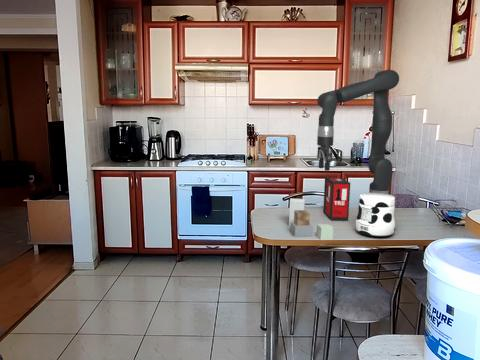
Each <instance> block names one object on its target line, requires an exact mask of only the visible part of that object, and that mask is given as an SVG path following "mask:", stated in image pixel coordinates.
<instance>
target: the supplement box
mask: <svg viewBox="0 0 480 360" xmlns="http://www.w3.org/2000/svg"><path fill="white" fill-rule="evenodd" d="M305 207H306V199H305V198H290V200H289V212H288V213H289V215H288V227H291V222H294V210H306V208H305Z"/></svg>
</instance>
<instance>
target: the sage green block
mask: <svg viewBox="0 0 480 360" xmlns="http://www.w3.org/2000/svg"><path fill="white" fill-rule="evenodd" d="M316 237H317V238H318V239H319V240H320V241H326V240H331V241H332V240H333V239H334V227H333V226H332V225H331V224H328V223H322V224H319V223H318V224H317V225H316Z"/></svg>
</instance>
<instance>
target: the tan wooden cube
mask: <svg viewBox="0 0 480 360" xmlns="http://www.w3.org/2000/svg"><path fill="white" fill-rule="evenodd" d="M310 215H311V213H310V212H309V211H308V210H307V209H305V210H294V223H296V224H297V225H309V223H310V217H311V216H310Z"/></svg>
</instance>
